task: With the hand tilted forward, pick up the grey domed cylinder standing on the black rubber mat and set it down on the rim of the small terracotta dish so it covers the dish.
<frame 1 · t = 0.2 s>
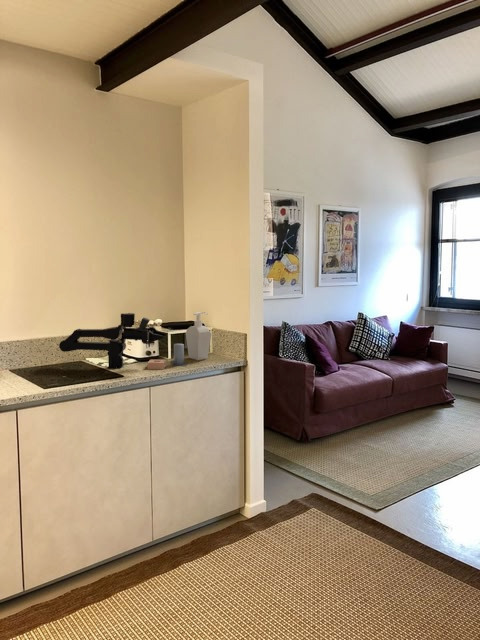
hand: (165, 335, 262), 17 cm above the counter, tool horizontal, fingers open, 9 cm apart
mat: (178, 365, 272), on the counter
soap bottle: (199, 359, 290), on the counter
grey domed cylinder: (178, 364, 272), resting on mat
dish: (156, 368, 264), on the counter
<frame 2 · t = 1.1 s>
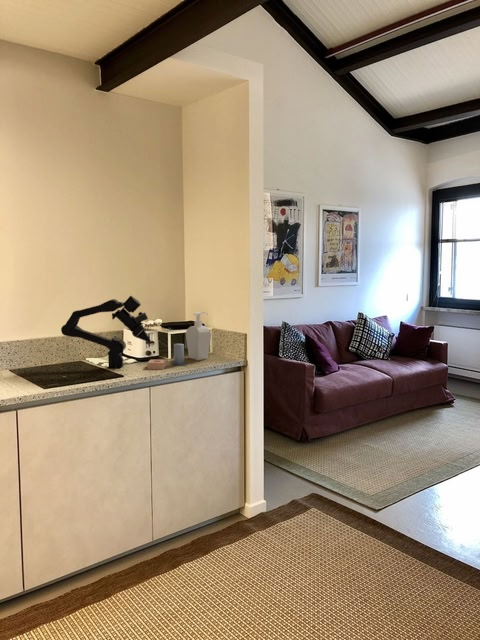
hand: (149, 340, 266), 14 cm above the counter, tool tilted 45°, fingers open, 9 cm apart
nothing on the counter moved.
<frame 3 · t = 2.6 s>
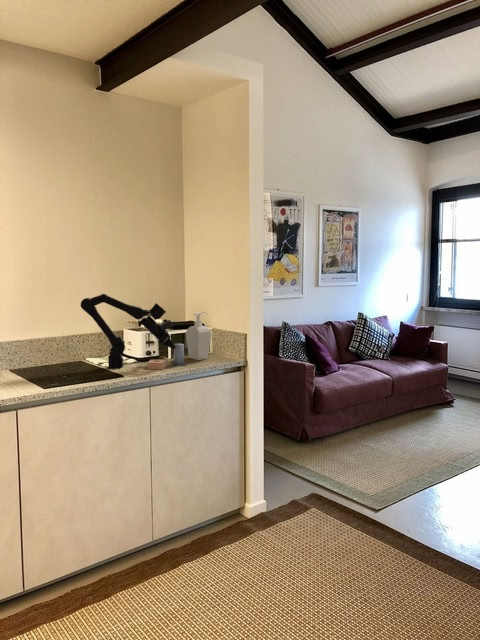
hand: (174, 346, 270), 10 cm above the counter, tool tilted 45°, fingers open, 9 cm apart
nothing on the counter moved.
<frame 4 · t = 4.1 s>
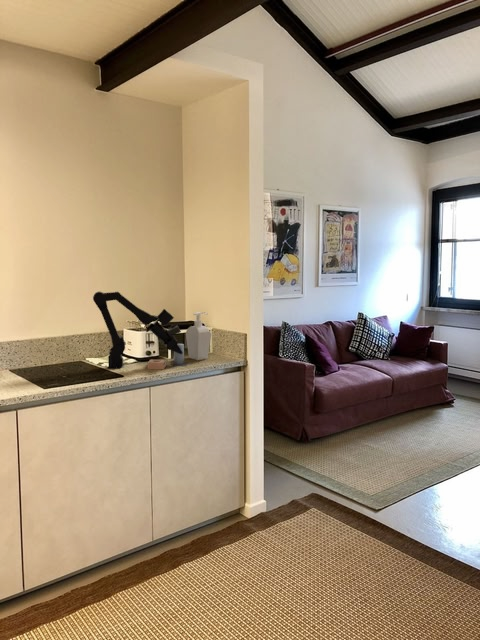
hand: (181, 352, 271), 7 cm above the counter, tool tilted 45°, fingers closed on grey domed cylinder, 5 cm apart
grey domed cylinder: (178, 364, 272), resting on mat, touching gripper
everything else where it was.
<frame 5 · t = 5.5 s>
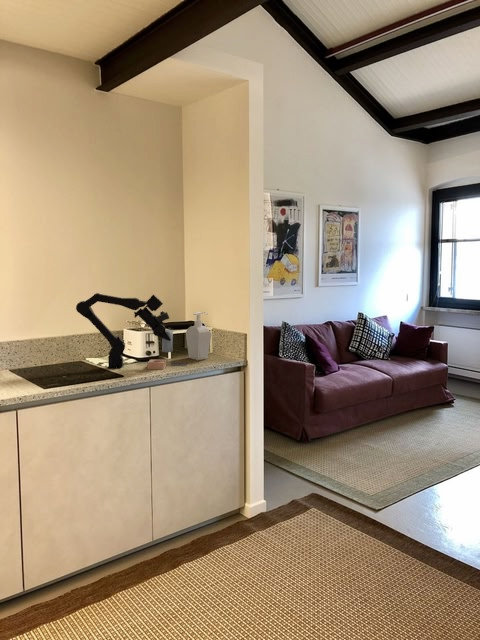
hand: (170, 339, 267), 14 cm above the counter, tool tilted 45°, fingers closed on grey domed cylinder, 5 cm apart
grey domed cylinder: (167, 351, 268), point 8 cm above the counter, touching gripper
everything else where it was.
when the fingers open (11 cm above the counter, at t = 7.3 s): grey domed cylinder drops 1 cm, resting on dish.
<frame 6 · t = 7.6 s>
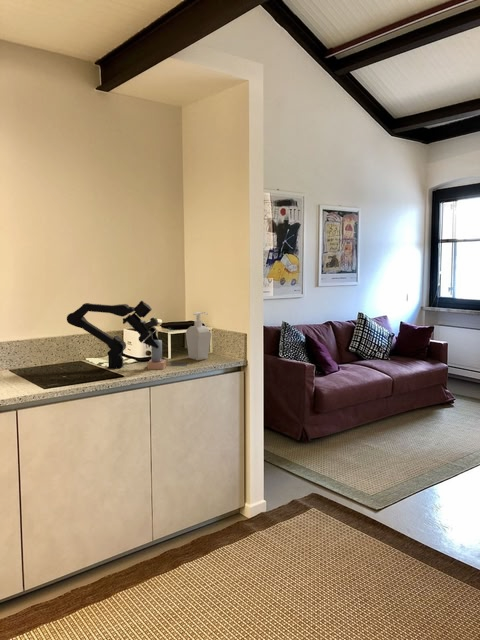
hand: (159, 346, 263), 11 cm above the counter, tool tilted 45°, fingers open, 8 cm apart
grey domed cylinder: (156, 361, 264), point 3 cm above the counter, touching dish
everything else where it was.
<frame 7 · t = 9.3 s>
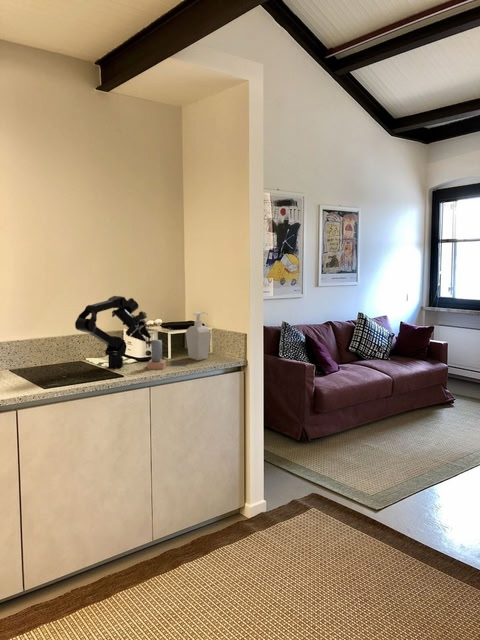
hand: (148, 339, 267), 14 cm above the counter, tool tilted 45°, fingers open, 9 cm apart
nothing on the counter moved.
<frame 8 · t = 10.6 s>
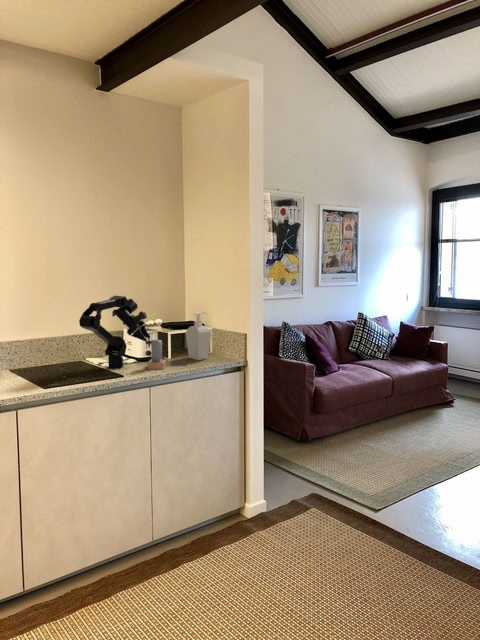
hand: (148, 339, 269), 14 cm above the counter, tool tilted 45°, fingers open, 9 cm apart
nothing on the counter moved.
at the end: grey domed cylinder 0.0 cm off-centre on the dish, point 3.5 cm above the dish's base; grey domed cylinder tilted 0°; the gripper is holding nothing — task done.
